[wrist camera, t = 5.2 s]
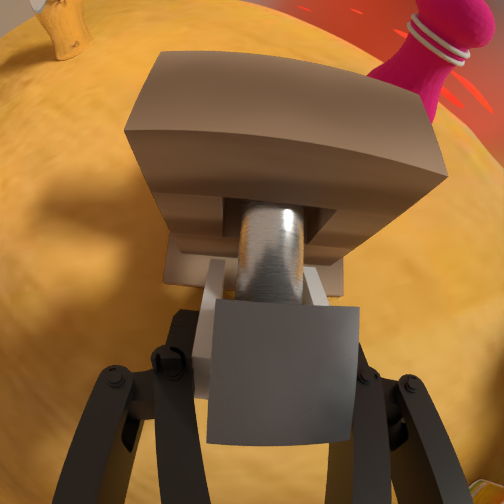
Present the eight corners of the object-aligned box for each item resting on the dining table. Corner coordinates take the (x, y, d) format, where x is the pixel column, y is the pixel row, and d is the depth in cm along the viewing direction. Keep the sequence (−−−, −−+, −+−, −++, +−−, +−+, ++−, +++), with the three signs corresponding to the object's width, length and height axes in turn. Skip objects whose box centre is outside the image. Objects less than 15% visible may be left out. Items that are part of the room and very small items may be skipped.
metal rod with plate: (279, 383, 17) (349, 440, 6) (217, 380, 17) (206, 443, 6) (288, 149, 22) (325, 38, 11) (238, 144, 22) (250, 25, 11)
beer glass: (77, 35, 27) (56, -36, 13) (105, 35, 27) (86, -46, 12) (45, 62, 25) (15, -11, 11) (71, 63, 25) (40, -23, 10)
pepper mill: (417, 159, 24) (534, 23, 5) (366, 170, 23) (498, -15, 4) (382, 106, 26) (463, -33, 7) (329, 110, 24) (405, -68, 5)
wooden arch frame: (339, 297, 19) (479, 237, 7) (165, 283, 18) (70, 192, 6) (336, 195, 22) (422, 74, 9) (182, 179, 21) (152, 29, 8)
